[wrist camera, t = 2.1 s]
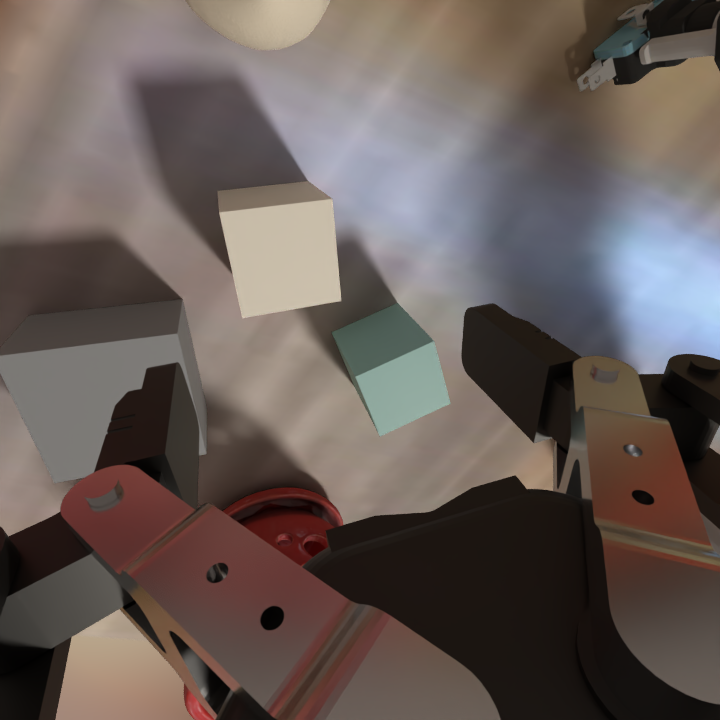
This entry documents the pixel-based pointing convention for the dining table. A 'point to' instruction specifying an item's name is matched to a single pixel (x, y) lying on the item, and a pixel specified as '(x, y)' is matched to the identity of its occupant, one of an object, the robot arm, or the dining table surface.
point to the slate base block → (92, 375)
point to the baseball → (261, 20)
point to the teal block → (392, 367)
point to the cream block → (280, 246)
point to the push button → (656, 40)
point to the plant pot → (281, 535)
